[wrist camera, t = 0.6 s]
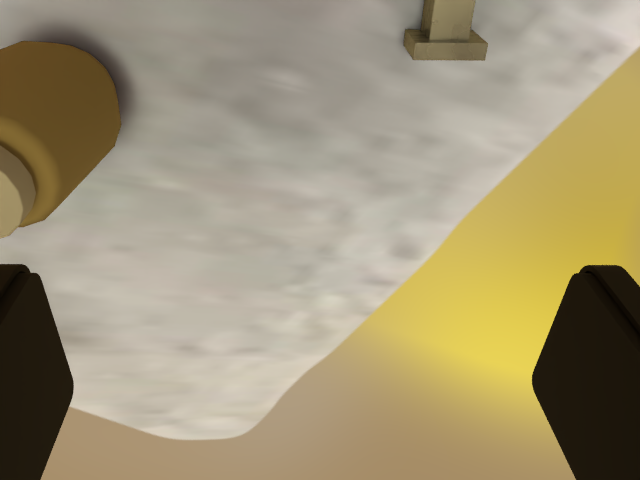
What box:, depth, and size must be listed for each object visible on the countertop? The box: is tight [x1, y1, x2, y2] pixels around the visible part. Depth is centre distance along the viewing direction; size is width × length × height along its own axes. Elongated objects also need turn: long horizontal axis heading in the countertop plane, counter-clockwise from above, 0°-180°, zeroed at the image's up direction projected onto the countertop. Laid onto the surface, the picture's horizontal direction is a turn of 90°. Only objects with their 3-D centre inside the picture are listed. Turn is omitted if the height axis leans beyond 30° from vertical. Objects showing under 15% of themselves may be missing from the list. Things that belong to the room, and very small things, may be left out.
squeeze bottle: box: [0, 41, 121, 238], centre depth 28 cm, size 8×8×18 cm
